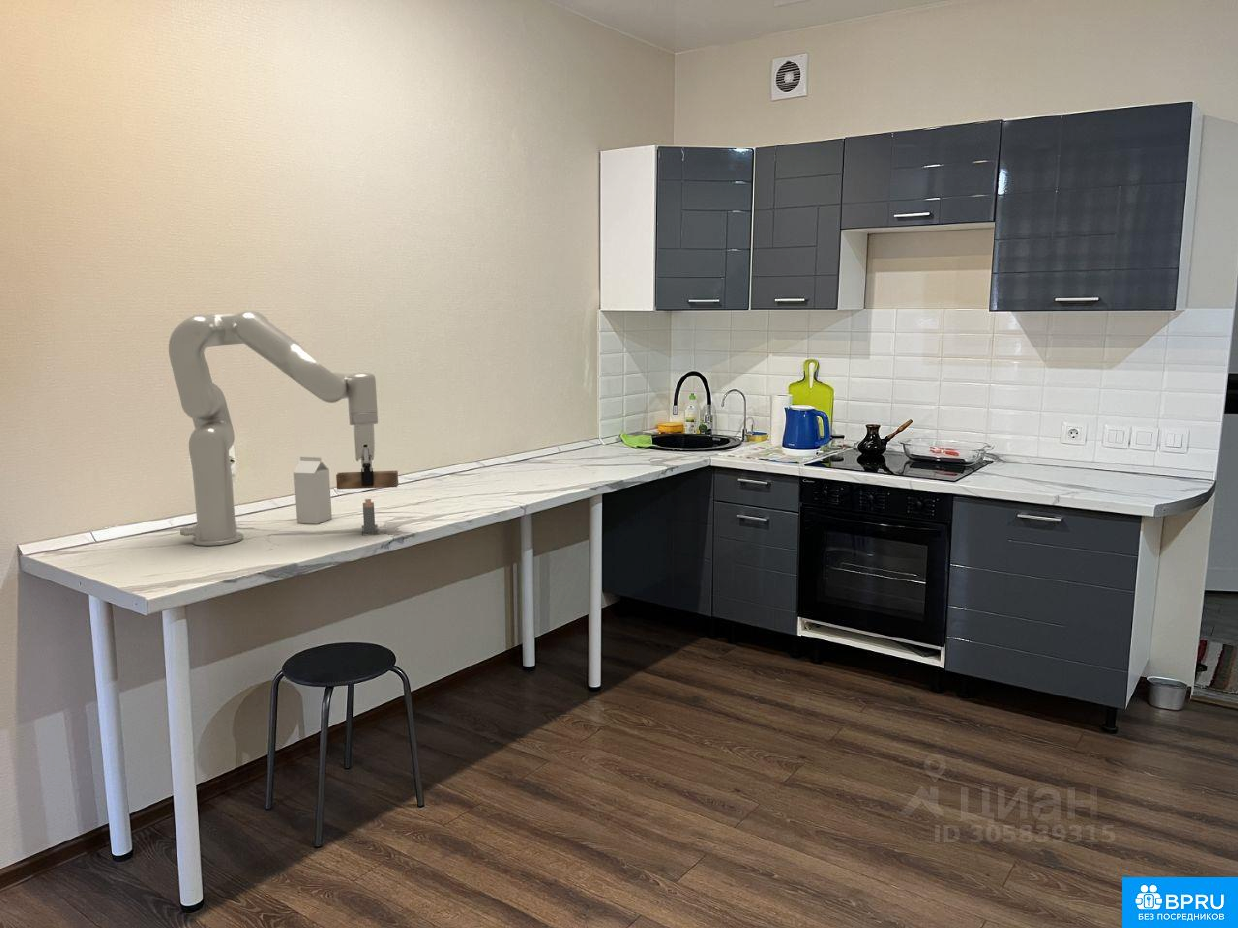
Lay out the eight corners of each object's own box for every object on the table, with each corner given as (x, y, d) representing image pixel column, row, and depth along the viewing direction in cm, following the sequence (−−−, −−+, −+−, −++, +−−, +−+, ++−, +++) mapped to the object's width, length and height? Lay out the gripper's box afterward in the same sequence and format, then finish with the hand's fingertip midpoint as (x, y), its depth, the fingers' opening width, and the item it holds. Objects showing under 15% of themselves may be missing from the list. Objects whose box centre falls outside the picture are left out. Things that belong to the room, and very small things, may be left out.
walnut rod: (336, 489, 258) (336, 475, 258) (339, 486, 262) (338, 472, 262) (396, 487, 260) (396, 472, 260) (398, 484, 264) (397, 470, 263)
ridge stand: (361, 534, 259) (359, 504, 258) (361, 529, 266) (359, 499, 265) (378, 533, 260) (376, 503, 259) (377, 528, 267) (376, 498, 266)
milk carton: (317, 524, 273) (313, 459, 270) (296, 523, 275) (292, 458, 272) (332, 519, 280) (328, 455, 277) (311, 517, 282) (307, 455, 279)
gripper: (349, 416, 265) (353, 480, 268) (349, 422, 249) (353, 490, 252) (377, 414, 267) (381, 478, 270) (378, 421, 251) (382, 488, 254)
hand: (367, 483), depth 261 cm, fingers closed on walnut rod, 4 cm apart
